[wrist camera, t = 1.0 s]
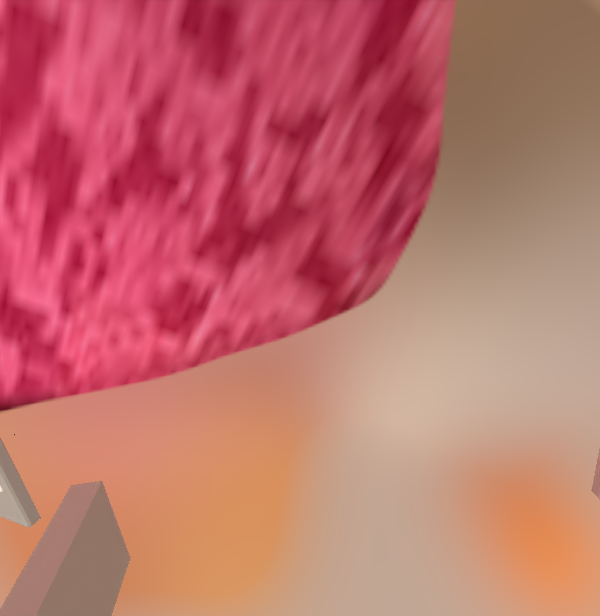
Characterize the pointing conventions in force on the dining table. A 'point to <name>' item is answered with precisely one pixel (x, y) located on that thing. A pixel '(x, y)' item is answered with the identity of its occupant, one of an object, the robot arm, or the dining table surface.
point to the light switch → (14, 493)
